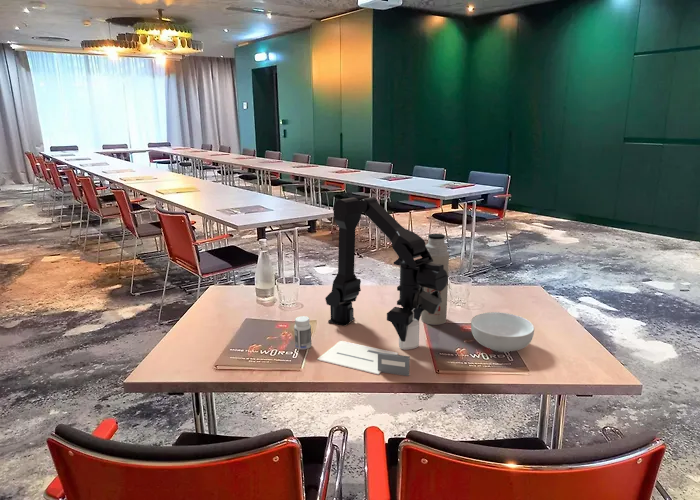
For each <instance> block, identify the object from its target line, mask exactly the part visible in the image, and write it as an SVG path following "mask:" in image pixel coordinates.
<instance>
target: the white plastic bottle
mask: <svg viewBox="0 0 700 500" xmlns="http://www.w3.org/2000/svg"><path fill="white" fill-rule="evenodd" d="M412 312H413V319H412V320H413V322H412V323H411V324H409V325H408V330H407V336H406V340H405V342H403V341H401V339H400V337H399V336H398V347H399V349H401V350H405V351H406V350H413V349H416V348H418V347H419V346H420V345H419V344H420V320H419V321H418V320H417V319H414V311H412Z"/></svg>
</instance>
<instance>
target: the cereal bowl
mask: <svg viewBox="0 0 700 500" xmlns="http://www.w3.org/2000/svg"><path fill="white" fill-rule="evenodd" d="M470 328H471V334H472V336H473V338H474V339H475V341H476V342H477V343H478V344H480V345H481V346H483V347H485V348H488V349H489V348H490V349H489V350H492V351H494V352H497V351H498V353H510V351H511V352H516V351H519V350H522V349H525V348H526V347H527V346H528V345H529V344H530V343H531V342H532V340H533V337H534V333H535V326H534V324H533V323H532V322H531V321H530V320H529V319H527V318H525V317H523V316H520V315H516V314H513V313H508V312H500V311H498V312H497V311H495V312H494V311H492V312H491V311H490V312H483V313H479V314H477V315H475V316H474V317H472V319H471V320H470Z"/></svg>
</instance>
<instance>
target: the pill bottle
mask: <svg viewBox="0 0 700 500" xmlns="http://www.w3.org/2000/svg"><path fill="white" fill-rule="evenodd" d="M293 329H294V330H293V331H294V347H295V348H296V349H297V348H298V350H308V349H310V348H311V347H312V326H311V323H310V317H308V316H306V315H305V316H304V315H302V316H297V317H296V318H295V319H294V325H293Z"/></svg>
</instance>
